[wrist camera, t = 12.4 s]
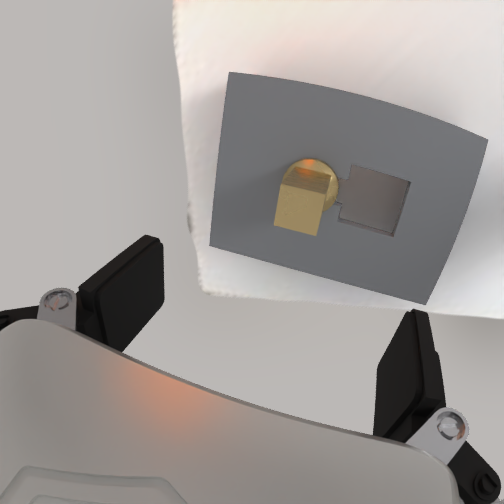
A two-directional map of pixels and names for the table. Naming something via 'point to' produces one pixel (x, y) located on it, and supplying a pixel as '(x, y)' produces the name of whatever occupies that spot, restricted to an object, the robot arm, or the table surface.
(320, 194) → the brass peg
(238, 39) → the table surface
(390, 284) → the keyhole board
